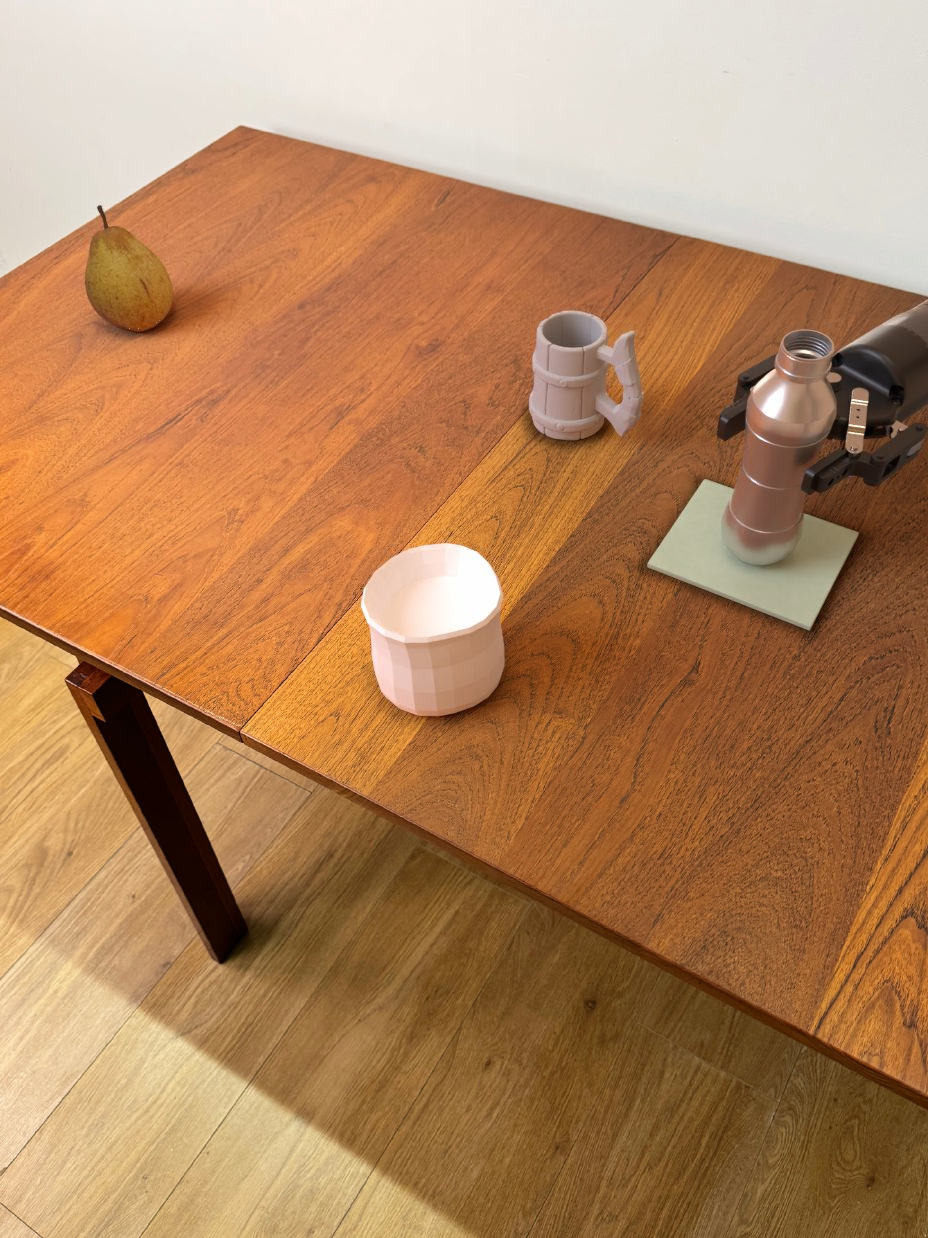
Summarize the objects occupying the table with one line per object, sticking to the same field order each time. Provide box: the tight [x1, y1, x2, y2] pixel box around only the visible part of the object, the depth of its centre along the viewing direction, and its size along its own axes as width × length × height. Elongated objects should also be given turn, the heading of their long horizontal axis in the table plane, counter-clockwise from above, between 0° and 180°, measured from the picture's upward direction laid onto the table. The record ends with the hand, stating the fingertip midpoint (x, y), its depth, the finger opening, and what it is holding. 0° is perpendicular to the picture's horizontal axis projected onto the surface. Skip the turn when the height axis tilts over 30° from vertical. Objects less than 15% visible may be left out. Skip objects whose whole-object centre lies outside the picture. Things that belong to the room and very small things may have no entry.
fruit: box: [84, 204, 174, 333], centre depth 107 cm, size 9×9×12 cm
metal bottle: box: [721, 328, 837, 565], centre depth 76 cm, size 6×7×20 cm
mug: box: [528, 310, 645, 441], centre depth 91 cm, size 8×12×12 cm, turn 49°
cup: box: [360, 542, 506, 717], centre depth 74 cm, size 10×10×10 cm
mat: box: [646, 478, 860, 631], centre depth 84 cm, size 14×12×1 cm
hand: (762, 455), depth 74 cm, fingers open, 7 cm apart
